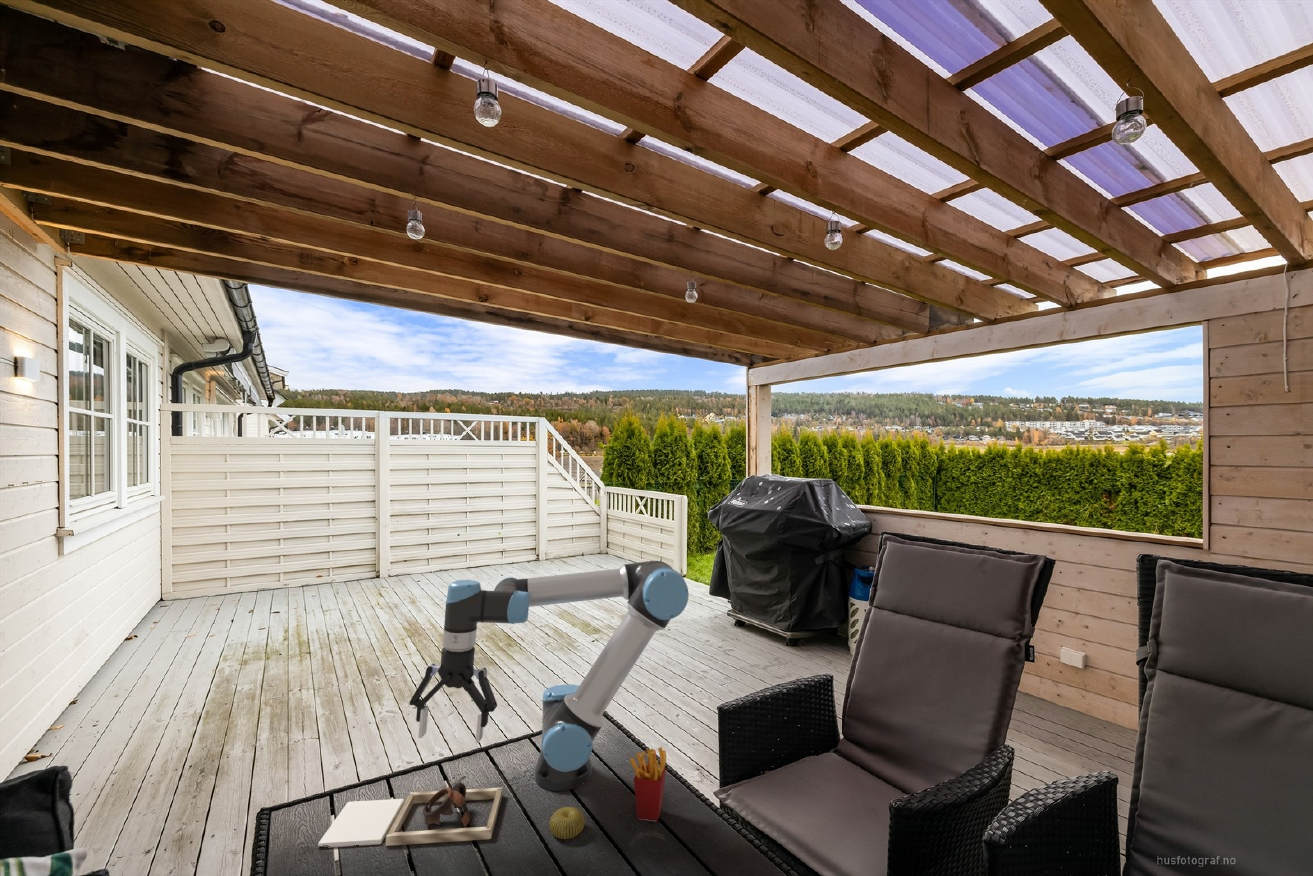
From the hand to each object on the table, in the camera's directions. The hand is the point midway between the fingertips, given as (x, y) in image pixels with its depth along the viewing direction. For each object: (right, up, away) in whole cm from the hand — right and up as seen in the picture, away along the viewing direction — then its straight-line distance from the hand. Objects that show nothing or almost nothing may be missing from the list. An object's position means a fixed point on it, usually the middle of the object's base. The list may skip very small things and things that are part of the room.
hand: (450, 737), depth 134 cm
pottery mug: (0, -19, -1) cm, 19 cm away
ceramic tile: (-19, -18, -3) cm, 27 cm away
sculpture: (+28, -19, -5) cm, 35 cm away
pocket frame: (0, -19, -1) cm, 19 cm away
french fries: (+47, -19, +2) cm, 51 cm away
